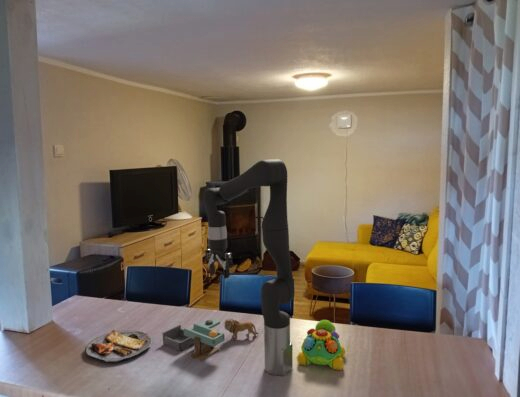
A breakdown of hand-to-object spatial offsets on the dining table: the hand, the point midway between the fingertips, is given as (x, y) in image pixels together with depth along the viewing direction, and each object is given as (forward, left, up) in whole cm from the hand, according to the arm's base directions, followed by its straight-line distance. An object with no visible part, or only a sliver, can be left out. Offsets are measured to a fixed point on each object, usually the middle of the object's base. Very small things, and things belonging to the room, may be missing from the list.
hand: (219, 276), depth 168 cm
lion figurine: (-6, -6, -28) cm, 29 cm away
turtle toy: (-41, -12, -28) cm, 51 cm away
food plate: (+28, +29, -28) cm, 49 cm away
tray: (+11, +12, -27) cm, 32 cm away
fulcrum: (-3, +12, -27) cm, 30 cm away
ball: (-8, +12, -18) cm, 23 cm away
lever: (-2, +7, -21) cm, 22 cm away
